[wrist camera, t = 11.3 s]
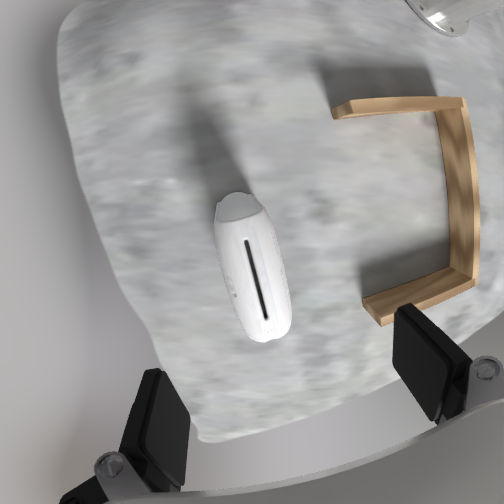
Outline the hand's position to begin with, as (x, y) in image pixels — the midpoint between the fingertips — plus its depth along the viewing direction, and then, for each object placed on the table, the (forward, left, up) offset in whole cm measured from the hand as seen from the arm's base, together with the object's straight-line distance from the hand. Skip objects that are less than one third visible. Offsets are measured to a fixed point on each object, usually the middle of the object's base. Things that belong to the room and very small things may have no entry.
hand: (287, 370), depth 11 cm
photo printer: (0, 0, -21) cm, 21 cm away
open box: (0, +19, -21) cm, 28 cm away
